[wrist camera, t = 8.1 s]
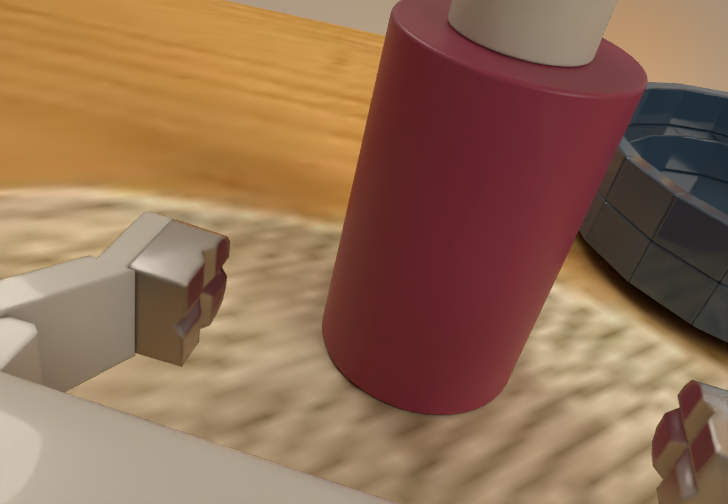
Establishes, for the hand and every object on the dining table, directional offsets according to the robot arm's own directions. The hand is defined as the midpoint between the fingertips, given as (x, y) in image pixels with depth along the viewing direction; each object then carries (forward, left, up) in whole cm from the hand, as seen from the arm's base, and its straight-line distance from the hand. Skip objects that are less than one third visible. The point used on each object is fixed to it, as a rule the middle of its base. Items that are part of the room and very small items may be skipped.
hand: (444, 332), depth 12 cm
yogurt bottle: (0, -6, -5) cm, 8 cm away
